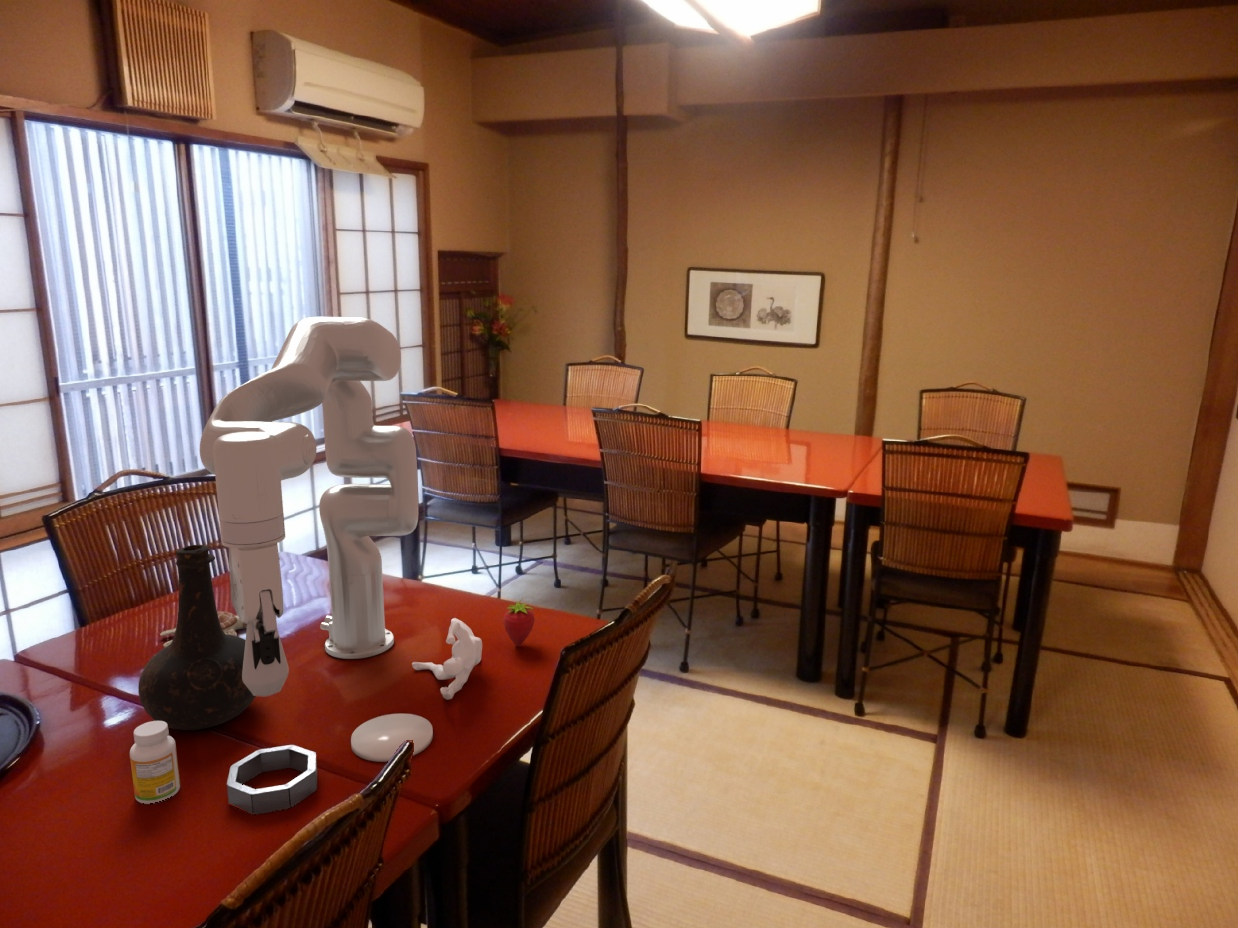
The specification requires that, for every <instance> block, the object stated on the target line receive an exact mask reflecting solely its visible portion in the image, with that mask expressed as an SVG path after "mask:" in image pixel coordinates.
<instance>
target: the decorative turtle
mask: <svg viewBox="0 0 1238 928" xmlns="http://www.w3.org/2000/svg"><path fill="white" fill-rule="evenodd" d="M217 613H218V618H219V621H220V624H221V627H222V630H223V631H224V633H225V634H229V635H234V636H237V635H238V634H237V632H236V631H237V630H238V629H239V630H240V629H247V626H246V624H245V623H243V622H242V621H241V620H240V618H239V616H238V615H235V614H234V613H232V612H228V611H224V610H223V611H221V610H217ZM175 631H176V627H174V628H171V629H167V630H163V631H162V632H161V633H159V635H160V637H166V636H170V635H173V636H174V635H175ZM237 637H238V636H237ZM172 640H173V639H171V640H169V641H167V642H165V643H164V644H163V648H165V647H167V646H168V645H170V644H171V642H172Z"/></svg>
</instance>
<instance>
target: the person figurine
mask: <svg viewBox="0 0 1238 928" xmlns="http://www.w3.org/2000/svg"><path fill="white" fill-rule="evenodd" d="M445 643H446V644H448V645H452V647H451V655H452V656H451V658H449V659H448V658H447V660H445V661H444V662H443V665H442V664H435V663H433V662H432V661H431V662H419V661H413V662H412V663H411V666H412V668H413V669H414V670H415V671H422V670H430V671H432V673H433V674H434V676H435V678H436V679H437V680H439V681H445V680H449V679H450V680H451V679H454V678H455V679H454V680H453V681H452V682H450V683H449V685H448V687H447V686H442V687H441V688H440V689H439V691H440V694H441V695H442V697H443V699H445V700H452V699H453V698H454V695H455V693H457V692H459V691H460V690H462V688H463V686H464V684H465V683H467V681H468V678H469V676H470V673H471V672H472V671H473V668H474V667H475V666H476V665H478V664H479V663H480V662H481V660H482V651H483V641H482V638H480V637H477V636H475V635H474V633H473V631H472V629H471V627H469V626H468V625H467V624H466V623H465V622H463V621H462V620H460V619H458V618H456V617H454V618H452V619H451V621H450V626H449V628H448V634H447V637H446V640H445Z"/></svg>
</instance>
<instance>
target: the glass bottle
mask: <svg viewBox="0 0 1238 928" xmlns="http://www.w3.org/2000/svg"><path fill="white" fill-rule="evenodd" d="M175 553H176V556H177V560H176V562H175V565H176V566H177V567H178V605H177V606H178V607H177V619H176V627H175V628H176V631H175V635H174V634H173V639H171V640H172V642H171V644H170V645H168V646H167V647H163V648H162V649H161V650H159V651H158V652H157V653H155V654H154V655H153V656H152V657H151V658H150V659H149V661H148V662H147V663H146V664H145V666H144V668H143V669H142V671H141V674H140V677H139V680H138V688H137V689H138V692H137V693H138V697H139V701H140V703H141V705H142V707H143V709H144V711H145V712H146V714H147V715H148V716H149V717H150V718H151V719H153V721H164V722H166V723H167V725H168V729H173V730H180V731H196V730H202V729H208V728H212V727H216V726H219V725H221V724H222V725H223V724H225V723H226V722H228V721H231V720H233V719H235V718H236V717H238V716H239V715H240V714H242V713H243V712H244V711H245V710H247V708H248V707H249V706H250V705H251V704H252V702H253V701H254V700H255V698H256V697H257V696H253V694H252V693H251V691H250V690H249V689H248V688H247V686H246V685H245V684H244V683H243V680H242V671H243V661H244V651H245V641H246V638H245V639H244V638H242V637H240V636H234V635H229V634H225V633H224V631H223V630H222V627H221V624H220V621H219V618H218V613H217V611H218V609H217V604H216V599H215V593H214V586H213V580H212V579H213V578H212V575H211V573H212V572H211V567H210V566H211V565H210V563H212V562H214V560H215V559H216V557H215V555H214V554H211V553H210V547H209V546H208V545H204V544H192V545H191V544H190V545H187V546H184V547H181V548H180V549H178V550H176V552H175Z"/></svg>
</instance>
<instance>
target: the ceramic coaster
mask: <svg viewBox="0 0 1238 928" xmlns="http://www.w3.org/2000/svg"><path fill="white" fill-rule="evenodd" d="M433 737H434V733H433V724H431V722H430V721H429V720H428V719H426V718H425V717H422V716H420V715H417V714H413V713H391V714H384V715H381V716H377V717H374V718H371V719H369V720H367V721H365V722H363V723H362V724H360V725H359V726H358V727H356V728H355V730H354V731H353V732H352V734H351V737H350V745H351V746H350V747H351V750H352V752H353V753H354V754H355V755H356V756H358V757H359V758H361V759H363V760H366V761H371V762H376V763H377V762H380V763H383V762H385V763H386V762H387V761H388V760H389V759H390V758H391V757H392V756H393V755H394V753H395V752H396V750H397V749H398V748H399V746H400V745H401V744H402V743H403V742H404V741H406V740H413V743H414V752H413V756H415V755H417V754H419V753H421V752H422V751H424V750H425V749H426V748H428V747H429V745H430V744H431V742H432V740H433Z"/></svg>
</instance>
